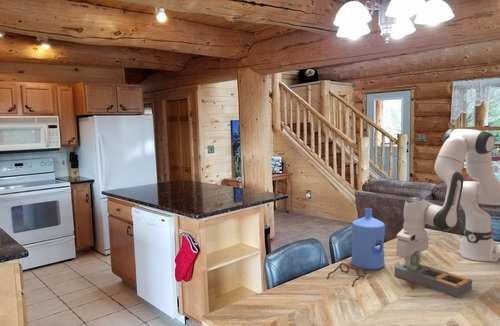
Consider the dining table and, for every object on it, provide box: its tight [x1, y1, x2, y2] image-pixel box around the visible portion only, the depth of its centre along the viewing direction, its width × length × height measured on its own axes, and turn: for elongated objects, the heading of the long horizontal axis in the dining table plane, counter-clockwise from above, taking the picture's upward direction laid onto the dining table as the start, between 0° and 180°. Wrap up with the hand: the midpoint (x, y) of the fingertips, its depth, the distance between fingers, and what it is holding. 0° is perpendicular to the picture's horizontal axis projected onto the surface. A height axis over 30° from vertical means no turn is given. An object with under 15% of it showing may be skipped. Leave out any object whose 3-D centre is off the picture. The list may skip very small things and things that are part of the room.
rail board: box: [394, 262, 473, 298], centre depth 169 cm, size 12×28×4 cm, turn 36°
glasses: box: [326, 262, 367, 288], centre depth 174 cm, size 13×13×5 cm
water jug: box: [351, 207, 386, 270], centre depth 190 cm, size 16×16×28 cm
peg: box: [404, 250, 422, 271], centre depth 176 cm, size 4×4×12 cm
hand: (412, 262), depth 176 cm, fingers closed on peg, 4 cm apart
